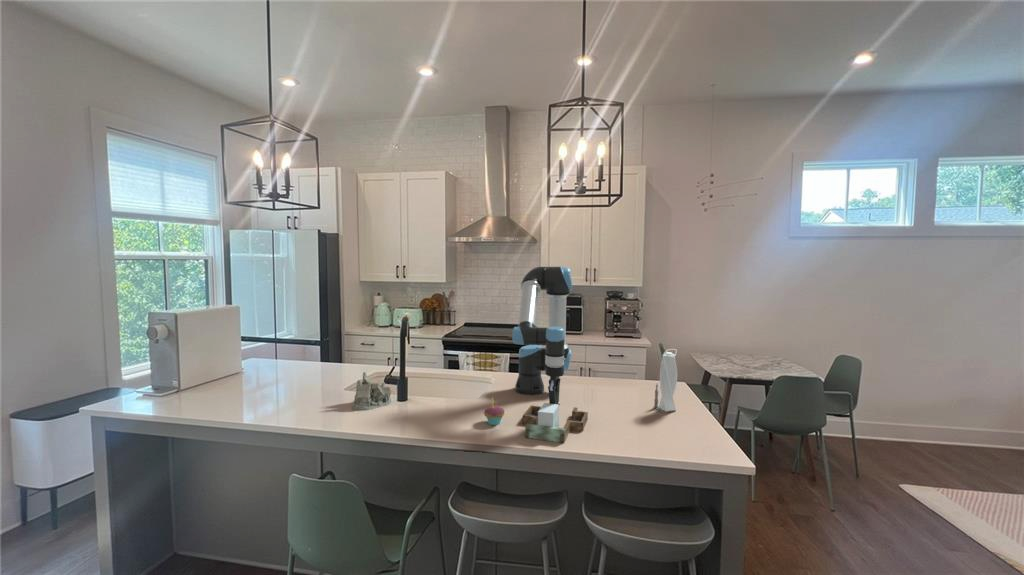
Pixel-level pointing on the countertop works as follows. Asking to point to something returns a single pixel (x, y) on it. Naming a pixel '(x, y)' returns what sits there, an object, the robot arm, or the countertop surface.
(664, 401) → the skyscraper
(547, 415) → the skincare box
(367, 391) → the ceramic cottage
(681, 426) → the countertop surface
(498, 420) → the cupcake
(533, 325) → the robot arm
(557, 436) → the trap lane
